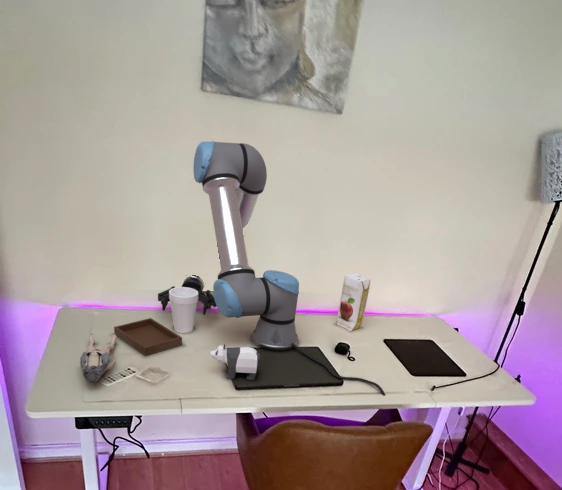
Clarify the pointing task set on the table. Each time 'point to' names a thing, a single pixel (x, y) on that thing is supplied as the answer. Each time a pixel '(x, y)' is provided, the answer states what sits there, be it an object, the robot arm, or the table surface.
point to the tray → (148, 336)
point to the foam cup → (183, 308)
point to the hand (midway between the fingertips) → (183, 308)
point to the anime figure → (96, 360)
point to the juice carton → (353, 301)
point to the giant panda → (237, 360)
